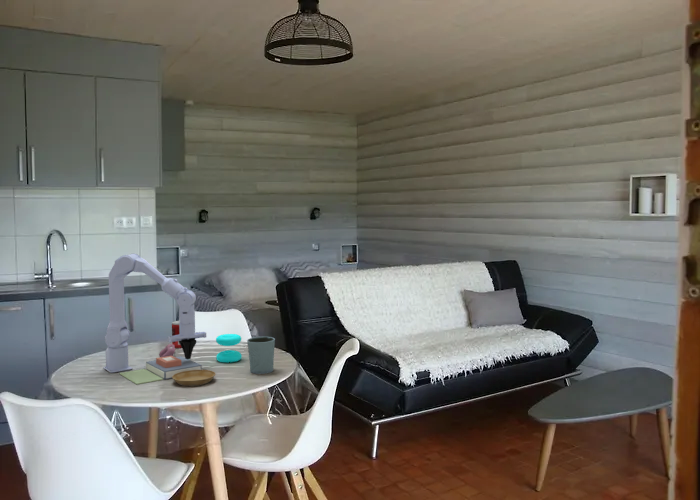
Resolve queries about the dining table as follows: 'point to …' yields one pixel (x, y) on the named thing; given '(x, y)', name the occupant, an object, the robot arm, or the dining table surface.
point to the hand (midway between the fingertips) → (187, 358)
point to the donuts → (228, 354)
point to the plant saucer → (194, 377)
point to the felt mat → (141, 376)
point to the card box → (168, 361)
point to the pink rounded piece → (168, 351)
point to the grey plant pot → (261, 354)
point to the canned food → (176, 333)
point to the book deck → (172, 368)
